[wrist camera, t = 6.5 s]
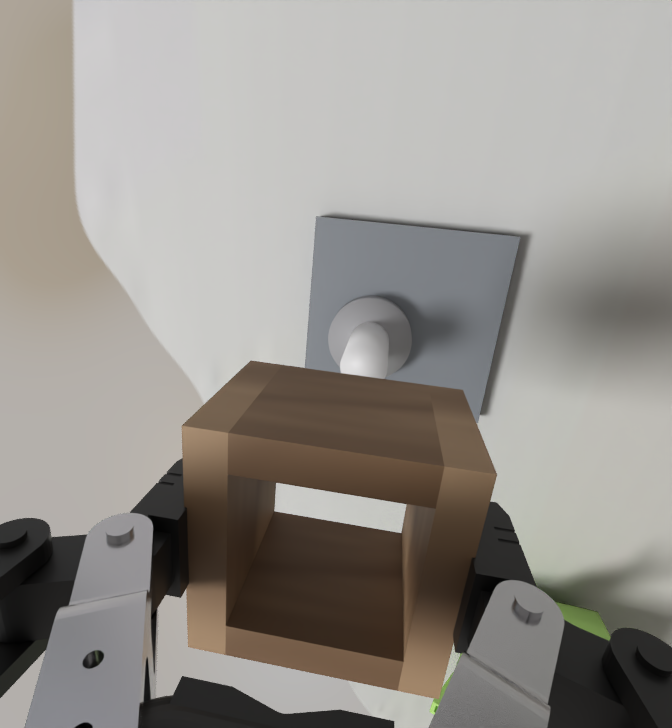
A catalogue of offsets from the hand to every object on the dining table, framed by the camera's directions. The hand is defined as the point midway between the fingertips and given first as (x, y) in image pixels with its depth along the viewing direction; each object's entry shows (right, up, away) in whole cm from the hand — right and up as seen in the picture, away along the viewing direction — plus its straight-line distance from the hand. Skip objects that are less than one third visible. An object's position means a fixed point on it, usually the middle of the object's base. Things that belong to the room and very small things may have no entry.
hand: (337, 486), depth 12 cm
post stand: (+5, +7, +18) cm, 19 cm away
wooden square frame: (0, 0, +1) cm, 1 cm away
